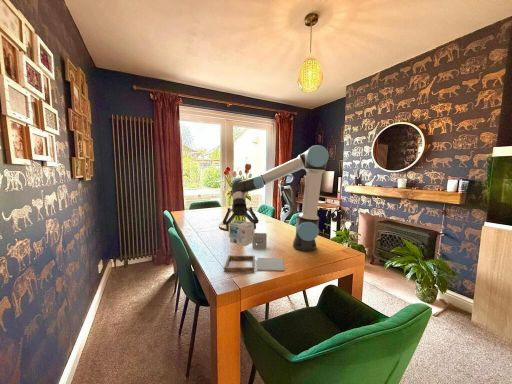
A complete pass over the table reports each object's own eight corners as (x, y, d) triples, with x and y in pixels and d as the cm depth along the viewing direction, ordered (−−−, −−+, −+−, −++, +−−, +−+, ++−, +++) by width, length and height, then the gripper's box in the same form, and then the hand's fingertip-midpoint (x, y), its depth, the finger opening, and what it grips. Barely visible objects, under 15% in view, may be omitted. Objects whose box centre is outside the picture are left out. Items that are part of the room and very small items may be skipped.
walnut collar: (254, 259, 122) (254, 255, 122) (254, 271, 107) (254, 268, 107) (228, 258, 122) (228, 255, 122) (224, 271, 108) (224, 267, 107)
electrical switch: (252, 247, 139) (252, 233, 139) (252, 245, 144) (253, 231, 144) (266, 248, 138) (266, 234, 138) (266, 246, 144) (266, 232, 143)
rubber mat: (281, 259, 122) (281, 258, 122) (284, 271, 109) (284, 269, 108) (257, 258, 123) (257, 257, 123) (257, 270, 109) (257, 269, 109)
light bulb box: (229, 242, 112) (229, 222, 111) (237, 238, 118) (237, 219, 117) (246, 246, 107) (246, 225, 106) (253, 242, 113) (253, 222, 111)
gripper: (258, 204, 128) (263, 237, 115) (218, 205, 124) (218, 239, 111) (260, 197, 122) (265, 230, 109) (217, 197, 119) (217, 233, 105)
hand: (241, 235), depth 110 cm, fingers closed on light bulb box, 12 cm apart
